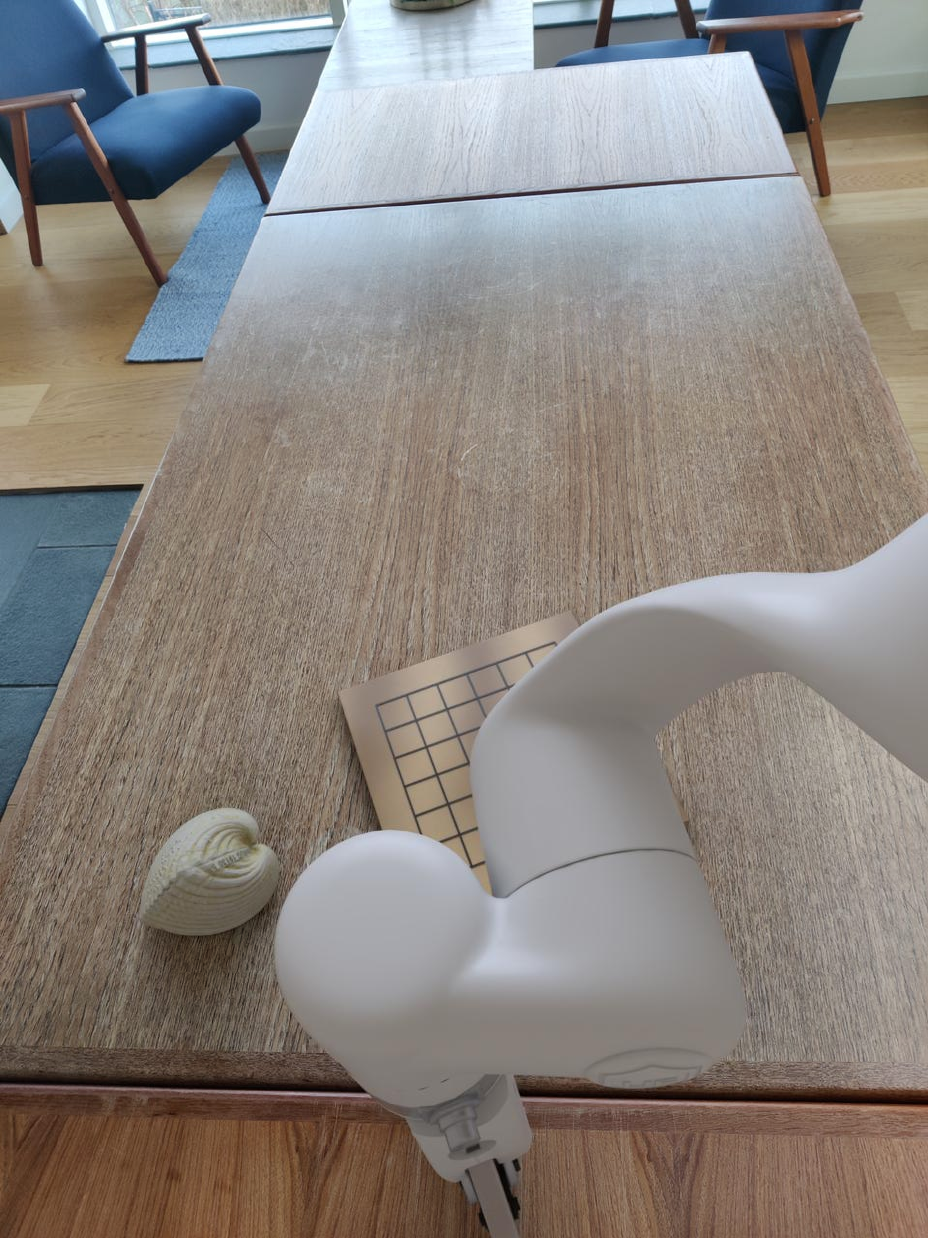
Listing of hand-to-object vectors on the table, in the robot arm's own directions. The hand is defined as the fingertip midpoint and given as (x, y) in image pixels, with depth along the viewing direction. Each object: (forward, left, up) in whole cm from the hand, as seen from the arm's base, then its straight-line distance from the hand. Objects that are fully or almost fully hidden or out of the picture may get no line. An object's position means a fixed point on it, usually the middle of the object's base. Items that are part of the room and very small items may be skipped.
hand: (465, 1092), depth 52 cm
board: (-10, -20, -1) cm, 22 cm away
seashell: (+12, -19, -1) cm, 23 cm away
